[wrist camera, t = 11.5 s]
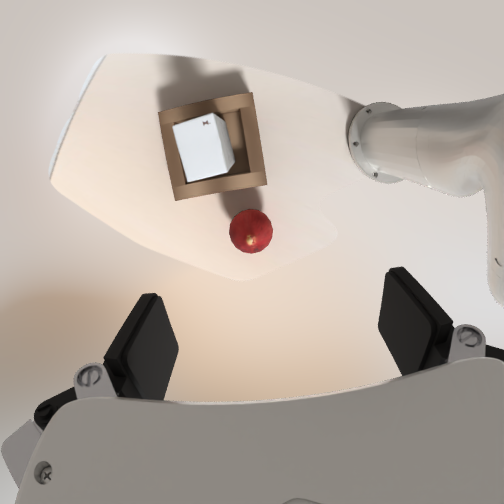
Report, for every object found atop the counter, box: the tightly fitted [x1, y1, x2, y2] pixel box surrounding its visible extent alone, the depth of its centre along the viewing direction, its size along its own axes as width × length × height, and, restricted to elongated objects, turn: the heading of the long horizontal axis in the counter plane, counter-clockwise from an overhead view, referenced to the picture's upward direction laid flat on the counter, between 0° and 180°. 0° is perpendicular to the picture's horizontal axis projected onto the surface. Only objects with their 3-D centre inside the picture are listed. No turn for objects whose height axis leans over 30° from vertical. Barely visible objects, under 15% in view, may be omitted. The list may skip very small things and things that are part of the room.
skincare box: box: [172, 113, 235, 182], centre depth 29 cm, size 6×4×12 cm
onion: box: [229, 209, 273, 253], centre depth 36 cm, size 6×6×8 cm
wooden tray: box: [158, 92, 267, 201], centre depth 33 cm, size 12×12×4 cm
